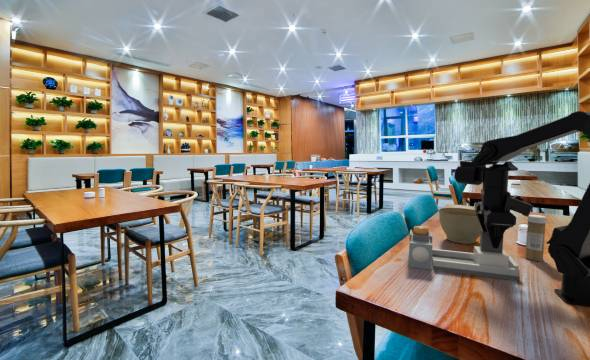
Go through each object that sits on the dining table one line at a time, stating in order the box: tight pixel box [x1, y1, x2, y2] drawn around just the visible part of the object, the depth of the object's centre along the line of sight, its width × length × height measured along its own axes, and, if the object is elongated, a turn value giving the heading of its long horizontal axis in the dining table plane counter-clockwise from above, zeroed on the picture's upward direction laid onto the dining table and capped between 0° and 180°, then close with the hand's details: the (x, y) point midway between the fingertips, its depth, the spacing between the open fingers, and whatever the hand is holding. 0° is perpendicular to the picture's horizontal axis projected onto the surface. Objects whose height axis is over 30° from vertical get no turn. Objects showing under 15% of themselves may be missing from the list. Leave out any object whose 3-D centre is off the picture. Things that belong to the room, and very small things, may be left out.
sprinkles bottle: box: [524, 214, 547, 262], centre depth 95 cm, size 5×5×13 cm
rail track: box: [432, 248, 521, 282], centre depth 88 cm, size 12×20×3 cm, turn 69°
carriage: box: [473, 231, 510, 268], centre depth 86 cm, size 7×7×9 cm
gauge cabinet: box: [408, 229, 434, 271], centre depth 93 cm, size 12×6×9 cm, turn 159°
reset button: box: [413, 225, 429, 236], centre depth 92 cm, size 4×4×2 cm
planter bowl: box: [438, 207, 483, 245], centre depth 114 cm, size 16×16×11 cm
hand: (491, 243), depth 86 cm, fingers open, 9 cm apart
